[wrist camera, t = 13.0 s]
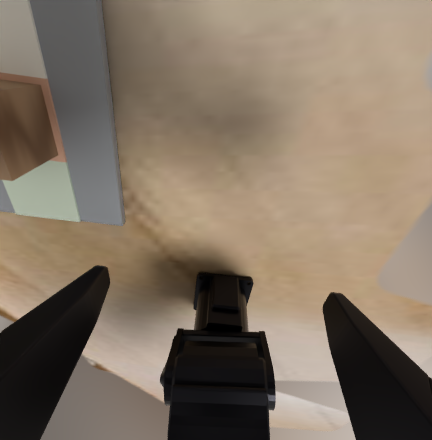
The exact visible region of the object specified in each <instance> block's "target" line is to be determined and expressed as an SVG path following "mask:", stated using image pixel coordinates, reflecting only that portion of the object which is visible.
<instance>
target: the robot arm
mask: <svg viewBox="0 0 432 440" xmlns="http://www.w3.org/2000/svg"><path fill="white" fill-rule="evenodd" d="M248 282H249V283H248ZM109 285H110V278H109V272H108V268H107V267H106V266H94V267H93V268H92V269H90V270H89V271H87V272H86V273H84V274H83V275H81V276H80V277H79V278H77V279H76V280H74V281H73V282H71V283H70V284H69V285H67V286H66V287H64V288H63V289H61V290H60V291H59V292H57V293H56V294H54V295H53V296H51V297H50V298H49V299H47V300H46V301H44V302H43V303H41V304H40V305H38V306H37V307H36V308H34V309H33V310H31V311H30V312H28V313H27V314H26V315H24V316H23V317H21V318H20V319H18V320H17V321H16V322H14V323H13V324H11V325H10V326H9V327H7V328H5V329H4V330H3V331H2V332H1V333H0V440H40V439H41V437H42V435H43V433H44V431H45V429H46V426H47V424H48V422H49V420H50V418H51V416H52V414H53V412H54V410H55V407H56V406H57V403H58V402H59V399H60V397H61V395H62V393H63V391H64V389H65V387H66V385H67V383H68V381H69V379H70V377H71V375H72V372H73V370H74V368H75V366H76V364H77V362H78V360H79V358H80V356H81V354H82V352H83V350H84V348H85V345H86V343H87V341H88V339H89V337H90V335H91V333H92V331H93V329H94V327H95V324H96V322H97V319H98V317H99V314H100V311H101V308H102V306H103V303H104V300H105V297H106V294H107V291H108V289H109ZM252 287H253V280H252V279H251V278H245V277H236V276H228V275H219V274H210V273H198V274H197V281H196V290H195V299H194V310H196V318H195V326H194V330H184V329H180V328H178V330H177V334H176V336H174V339H173V342H172V346H171V350H170V353H169V357H168V360H167V362H166V365H165V367H164V369H163V371H162V374H161V377H160V383H161V384H162V386H163V387H164V402H165V405H170V413H169V424H168V440H270V432H269V410H274V408H275V379H274V371H273V366H272V361H271V357H270V353H269V348H268V344H267V340H266V335H265V331H259V332H248V319H247V303H248V300H249V297H250V293H251V290H252ZM323 314H324V320H325V326H326V331H327V337H328V342H329V347H330V351H331V355H332V358H333V362H334V365H335V368H336V372H337V375H338V379H339V382H340V386H341V389H342V393H343V396H344V399H345V403H346V407H347V410H348V414H349V417H350V420H351V424H352V427H353V431H354V434H355V438H356V440H432V379H431V378H430V377H428V375H427V374H426V373H425V372H424V371H423V370H422V369H420V367H419V366H418V365H417V364H416V363H415V362H413V361H412V360H411V359H410V358H409V357H408V356H407V355H406V354H405V353H404V352H403V351H402V350H401V349H400V348H399V347H398V346H397V345H396V344H395V343H393V342H392V341H391V340H390V339H389V338H388V337H387V336H386V335H385V334H384V333H383V332H382V331H381V330H380V329H379V328H378V327H377V326H376V325H375V324H373V323H372V322H371V321H370V320H369V319H368V318H367V317H366V316H365V315H364V314H363V313H362V312H361V311H360V310H359V309H358V308H357V307H356V306H355V305H353V304H352V303H351V302H350V301H349V300H348V299H347V298H346V297H345V296H344V295H343V294H341V293H334V292H332V293H330V294H329V296H328V297H327V299H326V301H325V303H324V304H323Z"/></svg>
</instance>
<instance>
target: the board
mask: <svg viewBox="0 0 432 440" xmlns="http://www.w3.org/2000/svg"><path fill="white" fill-rule="evenodd" d="M0 79H1V80H8V81H16V82H23V83H30V84H38V85H41V88H42V92H43V96H44V100H45V104H46V108H47V112H48V116H49V119H50V123H51V127H52V131H53V135H54V139H55V143H56V147H57V151H58V156H56V157H54V158H52V159H51V160H49V161H47V162H45V163H44V164H42V165H40V166H38V167H37V168H35V169H33V170H31V171H30V172H28V173H26V174H24V175H22V176H21V177H19V178H17V179H15V180H14V181H8V180H0V211H3V212H11V213H16V214H17V215H25V216H33V217H42V218H50V219H58V220H66V221H75V222H80V221H85V222H94V223H102V224H110V225H118V226H123V224H124V223H125V214H124V204H123V195H122V186H121V177H120V168H119V158H118V149H117V140H116V131H115V121H114V112H113V103H112V94H111V85H110V75H109V66H108V57H107V48H106V38H105V29H104V20H103V11H102V2H101V0H0Z"/></svg>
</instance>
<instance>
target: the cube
mask: <svg viewBox="0 0 432 440" xmlns="http://www.w3.org/2000/svg"><path fill="white" fill-rule="evenodd" d="M56 156H58V151H57V147H56V143H55V139H54V135H53V131H52V127H51V123H50V119H49V116H48V112H47V108H46V104H45V100H44V96H43V92H42V88H41V85H38V84H30V83H23V82H16V81H8V80H1V79H0V180H8V181H14V180H15V179H17V178H19V177H21V176H22V175H24V174H26V173H28V172H30V171H31V170H33V169H35V168H37V167H38V166H40V165H42V164H44V163H45V162H47V161H49V160H51V159H52V158H54V157H56Z"/></svg>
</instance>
